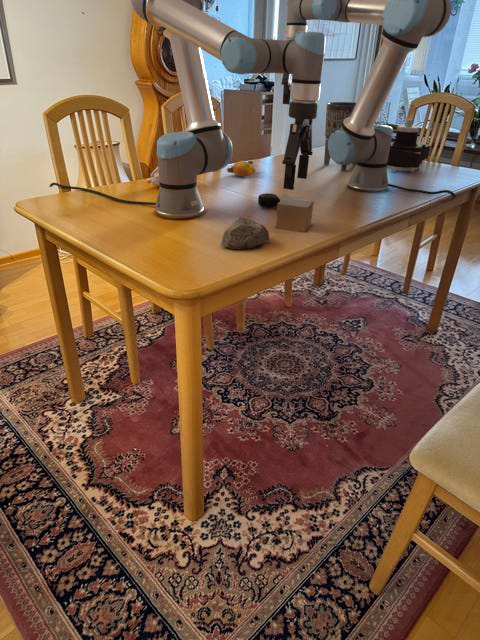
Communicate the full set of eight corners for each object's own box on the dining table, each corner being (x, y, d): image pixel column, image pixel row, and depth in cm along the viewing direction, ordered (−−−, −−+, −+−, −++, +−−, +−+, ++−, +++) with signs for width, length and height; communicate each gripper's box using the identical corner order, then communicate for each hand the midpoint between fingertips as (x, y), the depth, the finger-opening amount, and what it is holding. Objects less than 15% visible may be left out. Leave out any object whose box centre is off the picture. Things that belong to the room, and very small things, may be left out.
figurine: (184, 183, 177) (182, 149, 170) (157, 191, 166) (154, 155, 160) (168, 180, 181) (166, 147, 174) (141, 188, 170) (138, 152, 163)
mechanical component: (376, 119, 196) (405, 114, 216) (368, 169, 207) (396, 160, 227) (425, 124, 184) (451, 118, 204) (414, 176, 195) (439, 166, 215)
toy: (224, 169, 185) (230, 160, 198) (230, 184, 188) (235, 175, 200) (250, 160, 182) (254, 152, 194) (255, 175, 185) (259, 167, 197)
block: (283, 220, 140) (284, 197, 136) (311, 224, 137) (313, 201, 133) (275, 227, 134) (277, 203, 130) (304, 231, 131) (307, 207, 127)
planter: (313, 167, 208) (319, 103, 195) (331, 160, 222) (338, 101, 209) (353, 173, 199) (362, 107, 185) (369, 166, 213) (379, 104, 199)
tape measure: (259, 210, 148) (260, 198, 147) (256, 204, 154) (256, 193, 152) (280, 209, 149) (281, 198, 147) (275, 203, 155) (276, 192, 153)
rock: (255, 233, 128) (256, 211, 124) (276, 242, 122) (278, 219, 119) (217, 244, 120) (217, 220, 117) (239, 254, 115) (239, 230, 111)
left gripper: (303, 96, 130) (295, 172, 141) (275, 104, 110) (268, 191, 121) (328, 99, 127) (318, 175, 138) (305, 107, 107) (295, 196, 118)
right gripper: (295, 40, 179) (291, 100, 190) (275, 38, 159) (272, 104, 170) (313, 41, 177) (308, 101, 188) (296, 38, 157) (291, 105, 168)
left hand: (295, 183), depth 129 cm, fingers open, 13 cm apart
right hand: (291, 103), depth 179 cm, fingers open, 13 cm apart
